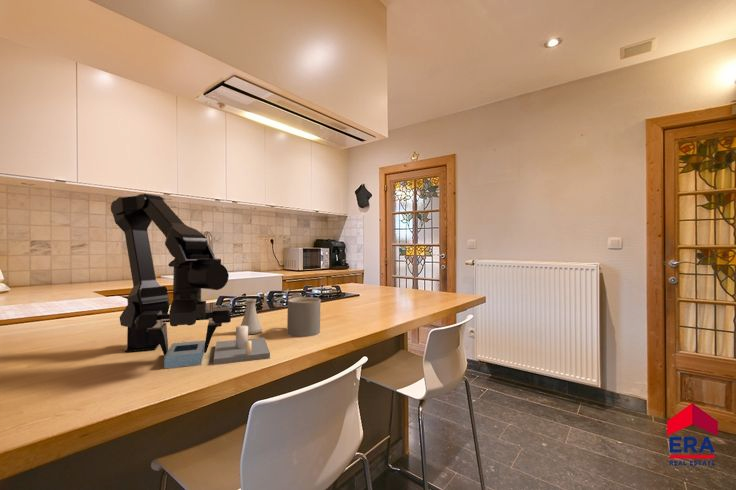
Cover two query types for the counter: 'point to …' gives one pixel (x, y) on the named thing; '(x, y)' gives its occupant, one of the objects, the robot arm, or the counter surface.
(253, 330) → the flask
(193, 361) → the flange plate
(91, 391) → the counter surface
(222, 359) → the post board
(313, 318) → the coffee mug
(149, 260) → the robot arm
